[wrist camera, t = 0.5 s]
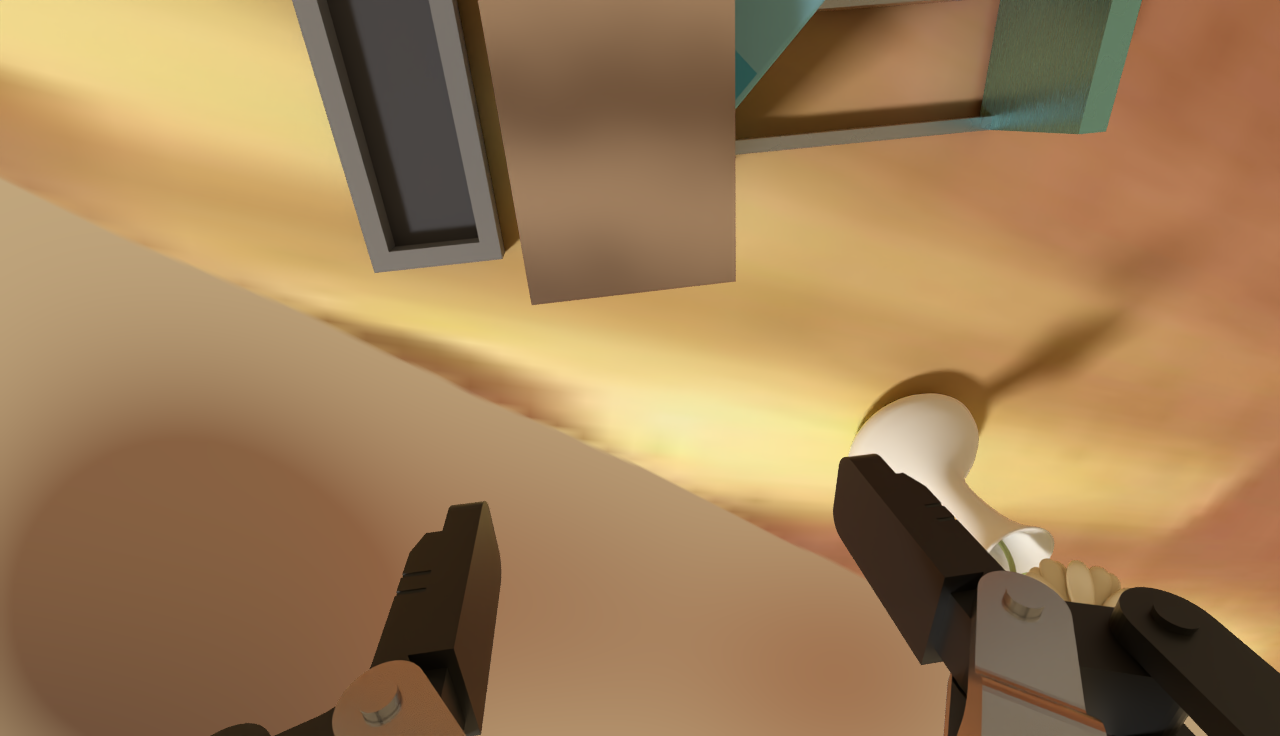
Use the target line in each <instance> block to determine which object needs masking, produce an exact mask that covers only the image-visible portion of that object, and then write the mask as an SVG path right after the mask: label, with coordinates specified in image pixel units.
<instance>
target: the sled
mask: <svg viewBox="0 0 1280 736" xmlns="http://www.w3.org/2000/svg"><path fill="white" fill-rule="evenodd" d="M948 1H960V0H825V1H824V2H823V4H822V5H821V6H820V7H819V8H818V10H817V11H816V12H819V11H832V10H845V9H858V8H871V7H884V6H896V5H909V4H922V3H935V2H948ZM1141 1H1142V0H1000V5H999V11H998V16H997V22H996V27H995V33H994V39H993V44H992V50H991V56H990V61H989V67H988V72H987V78H986V84H985V89H984V95H983V101H982V106H981V112H980V116H975V117H964V118H954V119H944V120H933V121H923V122H912V123H902V124H891V125H881V126H870V127H860V128H849V129H839V130H828V131H818V132H808V133H797V134H787V135H776V136H766V137H755V138H745V139H735V155H737V154H747V153H757V152H768V151H778V150H788V149H798V148H809V147H819V146H829V145H839V144H849V143H860V142H870V141H880V140H890V139H901V138H911V137H921V136H931V135H941V134H952V133H962V132H972V131H982V130H1005V131H1025V132H1046V133H1066V134H1085V133H1095V132H1105V131H1106V129H1107V126H1108V122H1109V118H1110V115H1111V111H1112V107H1113V104H1114V100H1115V96H1116V93H1117V89H1118V85H1119V82H1120V78H1121V75H1122V71H1123V67H1124V64H1125V60H1126V56H1127V53H1128V49H1129V45H1130V42H1131V38H1132V34H1133V31H1134V27H1135V23H1136V20H1137V16H1138V12H1139V9H1140V5H1141Z"/></svg>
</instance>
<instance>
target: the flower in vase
mask: <svg viewBox="0 0 1280 736" xmlns="http://www.w3.org/2000/svg"><path fill="white" fill-rule="evenodd" d="M978 441H979V435H978V429H977V425H976V423H975V421H974V418H973V416H972V414H971V413H970V411H969V410H968V408H967V407H966V406H965V405H964V404H963V403H961V402H960V401H958V400H957V399H955V398H953V397H950V396H947V395H943V394H936V393H926V394H918V395H911V396H907V397H904V398H901V399H898V400H896V401H894V402H892V403H890V404H888V405H886V406H884V407H883V408H881V409H880V410H878V411H877V412H876V413H874V414H873V415H872V416H871V417H870V418H869V419H868V420H867V421H866V422H865V423H864V424H863V426H862V427H861V428H860V430H859V431H858V432H857V434H856V436H855V438H854V440H853V442H852V445H851V448H850V451H849V456H848V457H850V456H858V455H866V454H878V455H879V456H881V457H882V458H883V460H884V461H885V462H886V463H887V464H888V465H889V466H890V467H891V468H892V470H893V471H894V472H895V473H905V474H907V475H908V476H910V477H912V478H913V479H915V480H917V481H918V482H920V483H922V484H923V485H925V486H926V487H927V488H928V489H929V490H930V491H931V492H932V493H933V494H934V495H935V496H936V497H937V499H938V500H939V501H940V502H941V505H943V506H945V507H946V508H947V509H948V510H949V511H950V512H951V513H952V514H953V515H954V516H955V518H956V519H957V520H958V521H959V522H960V523H961V524H962V525H963V526H964V527H965V528H966V529H967V530H968V531H969V532H970V534H971V535H972V536H973V537H974V538H975V539H976V540H977V541H978V542H979V543H980V544H981V545H982V546H983V547H984V548H985V549H986V550H987V552H988V553H989V554H990V555H991V556H992V557H993V558H994V559H995V560H996V561H997V562H998V563H999V564H1000V565H1001V566H1002V567H1003V569H1004V570H1005V571H1011V572H1016V573H1020V574H1024V575H1027V576H1029V577H1032V578H1034V579H1036V580H1038V581H1040V582H1042V583H1043V584H1045V585H1047V586H1048V587H1050V588H1051V589H1052V590H1054V591H1055V592H1056V593H1057V594H1058V595H1059V596H1060V597H1061V598H1062V599H1063V600H1064V601H1069V602H1076V603H1084V604H1092V605H1100V606H1108V607H1115V606H1116V604H1117V602H1118V599H1119V597H1120V596H1121V594H1122V593H1123V592H1124V591H1125V590H1127V589H1130V588H1123V589H1120V588H1121V585H1120V581H1119V579H1118V578H1117V577H1116V576H1115V575H1114V574H1112V573H1108V572H1107V571H1106V570H1105V569H1104V568H1102V567H1099V566H1093V567H1091V568H1090V569H1088V567H1087V566H1086V565H1085V564H1084V563H1083V562H1081V561H1078V560H1073V561H1071V562H1070V563H1069V564H1068V566H1067V569H1066V567H1065V566H1064V565H1063V564H1061V563H1060V562H1057V561H1053V560H1051V559H1049V558H1050V557H1051V555H1052V552H1053V549H1054V539H1053V536H1052V535H1051V533H1049V532H1048V531H1047V530H1045V529H1043V528H1040V527H1036V526H1028V525H1023V524H1019V523H1017V522H1014V521H1012V520H1010V519H1008V518H1007V517H1005V516H1003V515H1001V514H1000V513H998V512H997V511H996V510H994V509H993V508H992V507H990V506H989V505H987V504H986V503H985V502H984V501H983V500H982V499H980V498H979V497H978V496H977V495H976V494H975V493H974V492H973V491H972V490H971V489H970V488H969V486H968V485H967V483H966V482H965V478H966V476H967V474H968V473H969V471H970V469H971V467H972V465H973V463H974V460H975V457H976V453H977V448H978Z"/></svg>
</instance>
